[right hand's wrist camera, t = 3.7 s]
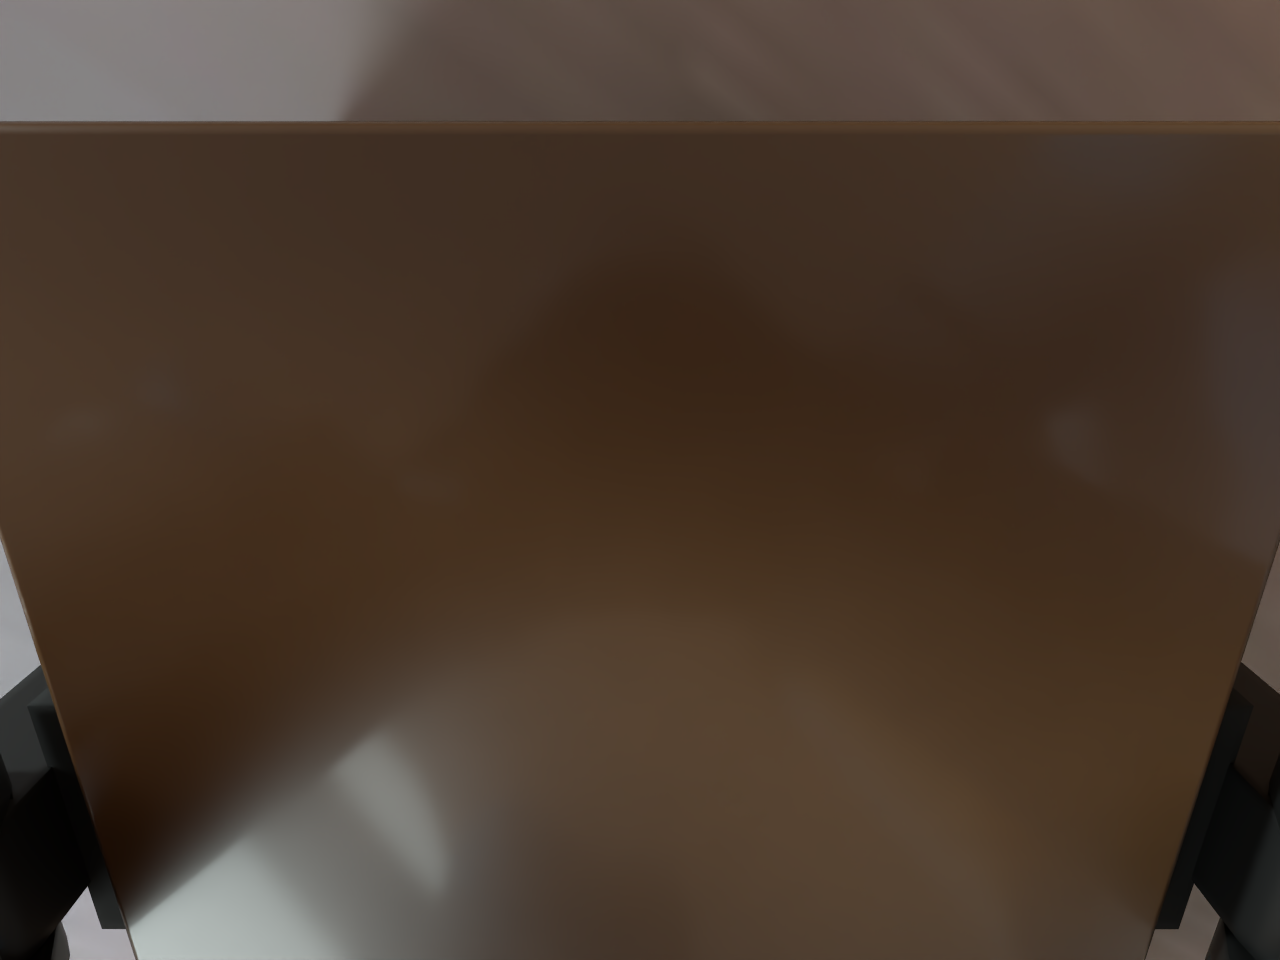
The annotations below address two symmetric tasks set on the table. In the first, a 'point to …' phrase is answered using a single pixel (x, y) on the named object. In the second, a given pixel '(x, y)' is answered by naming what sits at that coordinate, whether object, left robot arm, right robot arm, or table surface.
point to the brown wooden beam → (640, 524)
